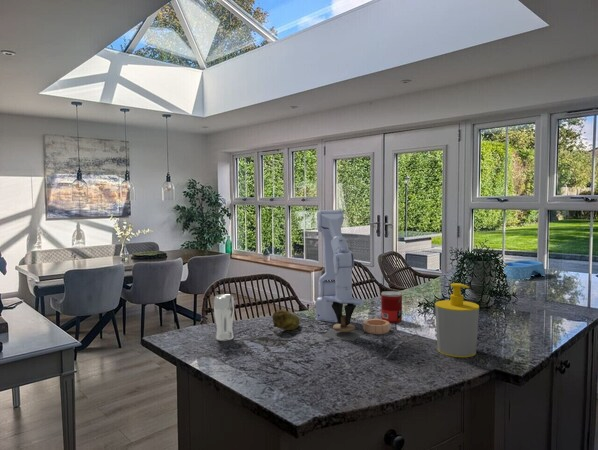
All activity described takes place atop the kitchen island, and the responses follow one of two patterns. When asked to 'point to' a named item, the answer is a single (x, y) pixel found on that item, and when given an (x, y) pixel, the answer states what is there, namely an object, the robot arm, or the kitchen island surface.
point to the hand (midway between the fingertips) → (343, 323)
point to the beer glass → (224, 316)
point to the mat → (344, 334)
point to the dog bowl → (523, 269)
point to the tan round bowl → (376, 326)
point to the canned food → (391, 306)
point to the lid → (343, 325)
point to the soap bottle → (457, 324)
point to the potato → (285, 320)
